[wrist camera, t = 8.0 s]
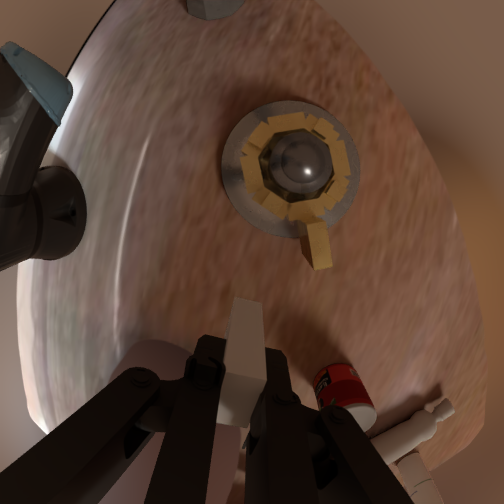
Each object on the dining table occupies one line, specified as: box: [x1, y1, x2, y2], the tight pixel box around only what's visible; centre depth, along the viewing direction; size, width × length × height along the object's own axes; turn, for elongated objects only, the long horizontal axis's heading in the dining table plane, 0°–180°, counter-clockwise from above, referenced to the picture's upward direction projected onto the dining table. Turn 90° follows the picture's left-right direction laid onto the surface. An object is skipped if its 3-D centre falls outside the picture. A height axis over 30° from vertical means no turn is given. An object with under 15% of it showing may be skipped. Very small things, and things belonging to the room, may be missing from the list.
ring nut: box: [240, 112, 351, 271], centre depth 30 cm, size 12×17×8 cm
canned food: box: [313, 363, 377, 432], centre depth 37 cm, size 8×8×11 cm
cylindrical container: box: [397, 453, 444, 504], centre depth 38 cm, size 7×7×25 cm
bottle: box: [370, 398, 455, 465], centre depth 42 cm, size 9×9×30 cm
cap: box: [221, 101, 360, 238], centre depth 30 cm, size 18×18×9 cm
